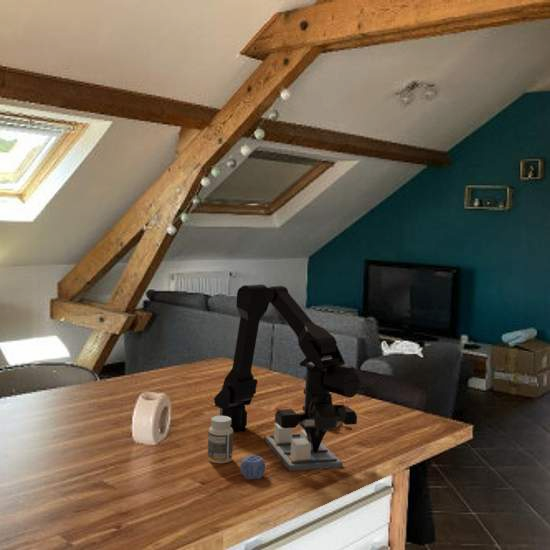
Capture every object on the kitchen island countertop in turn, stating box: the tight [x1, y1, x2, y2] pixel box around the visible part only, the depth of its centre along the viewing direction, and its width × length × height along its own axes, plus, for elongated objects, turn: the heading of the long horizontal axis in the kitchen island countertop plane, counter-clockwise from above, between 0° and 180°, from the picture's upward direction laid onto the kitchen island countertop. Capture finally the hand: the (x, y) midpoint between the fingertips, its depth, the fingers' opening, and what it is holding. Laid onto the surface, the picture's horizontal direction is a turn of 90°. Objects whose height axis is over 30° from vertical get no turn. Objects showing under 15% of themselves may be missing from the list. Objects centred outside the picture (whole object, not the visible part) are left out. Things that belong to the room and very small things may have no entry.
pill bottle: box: [207, 415, 234, 464], centre depth 159 cm, size 6×6×10 cm
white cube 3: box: [273, 422, 294, 443], centre depth 171 cm, size 4×4×4 cm
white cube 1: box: [291, 438, 311, 460], centre depth 160 cm, size 4×4×4 cm
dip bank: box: [263, 433, 344, 472], centre depth 167 cm, size 13×21×1 cm, turn 17°
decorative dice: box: [240, 455, 266, 480], centre depth 151 cm, size 4×4×4 cm
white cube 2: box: [299, 429, 319, 450], centre depth 167 cm, size 4×4×4 cm
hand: (314, 452), depth 161 cm, fingers closed
